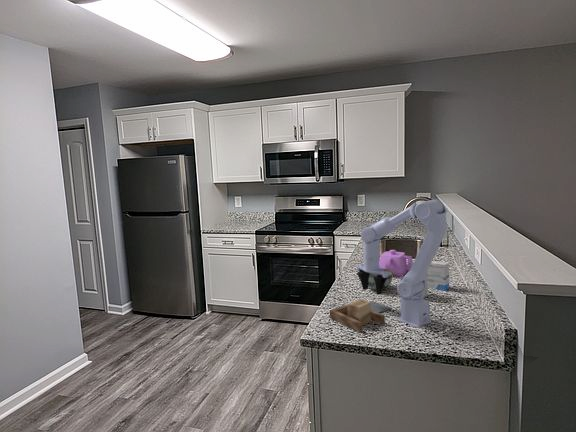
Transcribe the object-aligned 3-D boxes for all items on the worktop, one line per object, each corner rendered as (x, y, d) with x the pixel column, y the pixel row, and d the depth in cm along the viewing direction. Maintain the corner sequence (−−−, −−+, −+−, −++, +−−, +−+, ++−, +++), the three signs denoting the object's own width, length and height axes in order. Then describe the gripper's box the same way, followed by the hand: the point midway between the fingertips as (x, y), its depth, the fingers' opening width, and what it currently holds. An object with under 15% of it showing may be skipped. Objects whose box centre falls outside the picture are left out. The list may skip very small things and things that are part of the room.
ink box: (449, 288, 160) (449, 262, 159) (445, 291, 156) (445, 265, 155) (430, 285, 166) (430, 260, 165) (425, 287, 162) (426, 262, 161)
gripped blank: (371, 320, 129) (370, 302, 128) (359, 327, 125) (358, 307, 124) (359, 317, 133) (359, 299, 132) (347, 323, 128) (347, 304, 127)
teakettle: (387, 279, 177) (387, 255, 176) (370, 271, 194) (370, 248, 192) (417, 275, 182) (417, 251, 181) (398, 267, 198) (397, 245, 197)
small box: (414, 292, 157) (414, 268, 156) (427, 294, 154) (427, 270, 152) (407, 297, 151) (407, 273, 150) (421, 300, 148) (421, 275, 146)
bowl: (398, 288, 164) (398, 270, 163) (384, 296, 154) (384, 278, 153) (371, 283, 173) (371, 266, 172) (357, 290, 163) (356, 273, 162)
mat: (391, 309, 139) (391, 307, 139) (372, 315, 134) (372, 314, 134) (372, 302, 148) (372, 300, 147) (354, 307, 142) (354, 306, 142)
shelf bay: (384, 323, 126) (384, 315, 126) (359, 332, 120) (359, 323, 120) (354, 310, 139) (353, 303, 139) (330, 318, 133) (329, 310, 133)
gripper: (393, 259, 134) (393, 294, 136) (365, 252, 147) (366, 285, 148) (380, 262, 131) (380, 298, 132) (352, 255, 143) (353, 288, 144)
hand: (372, 291), depth 140 cm, fingers open, 7 cm apart
